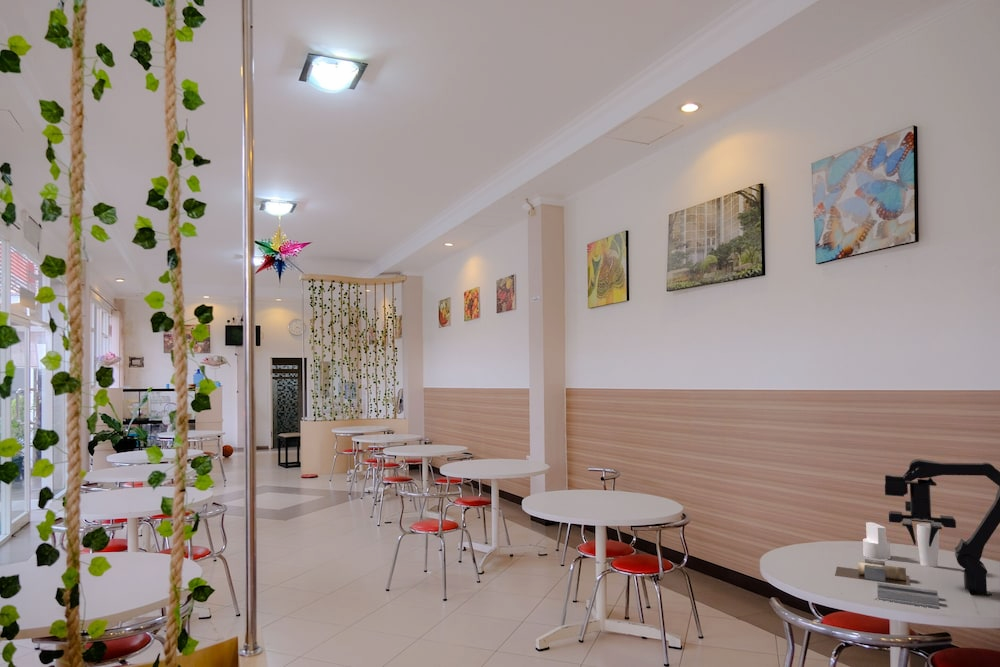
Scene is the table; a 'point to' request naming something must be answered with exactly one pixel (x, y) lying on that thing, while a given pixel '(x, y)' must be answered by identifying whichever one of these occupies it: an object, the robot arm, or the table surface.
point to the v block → (908, 595)
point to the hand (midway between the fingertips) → (922, 545)
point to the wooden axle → (886, 571)
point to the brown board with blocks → (870, 573)
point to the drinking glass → (927, 546)
